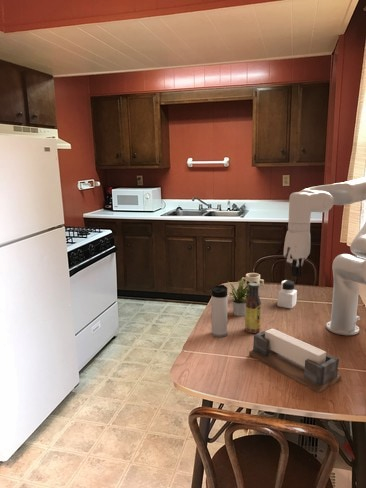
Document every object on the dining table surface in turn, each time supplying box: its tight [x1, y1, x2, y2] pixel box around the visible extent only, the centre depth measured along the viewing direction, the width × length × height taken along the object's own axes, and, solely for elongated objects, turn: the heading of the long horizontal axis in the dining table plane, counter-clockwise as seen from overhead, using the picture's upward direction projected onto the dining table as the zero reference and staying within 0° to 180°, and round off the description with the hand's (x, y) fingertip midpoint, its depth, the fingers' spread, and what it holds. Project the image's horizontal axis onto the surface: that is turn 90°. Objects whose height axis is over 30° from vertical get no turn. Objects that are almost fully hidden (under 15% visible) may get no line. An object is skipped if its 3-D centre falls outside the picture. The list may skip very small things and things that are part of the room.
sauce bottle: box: [244, 283, 262, 334], centre depth 160 cm, size 7×6×20 cm
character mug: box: [241, 272, 265, 298], centre depth 194 cm, size 11×7×13 cm, turn 68°
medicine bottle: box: [277, 279, 298, 310], centre depth 187 cm, size 7×7×12 cm
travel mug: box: [210, 284, 229, 338], centre depth 157 cm, size 6×7×20 cm
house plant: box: [227, 279, 253, 317], centre depth 176 cm, size 14×14×16 cm
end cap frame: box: [248, 328, 342, 394], centre depth 134 cm, size 12×29×8 cm, turn 37°
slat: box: [264, 328, 327, 367], centre depth 133 cm, size 22×4×6 cm, turn 37°
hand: (296, 275), depth 145 cm, fingers closed
